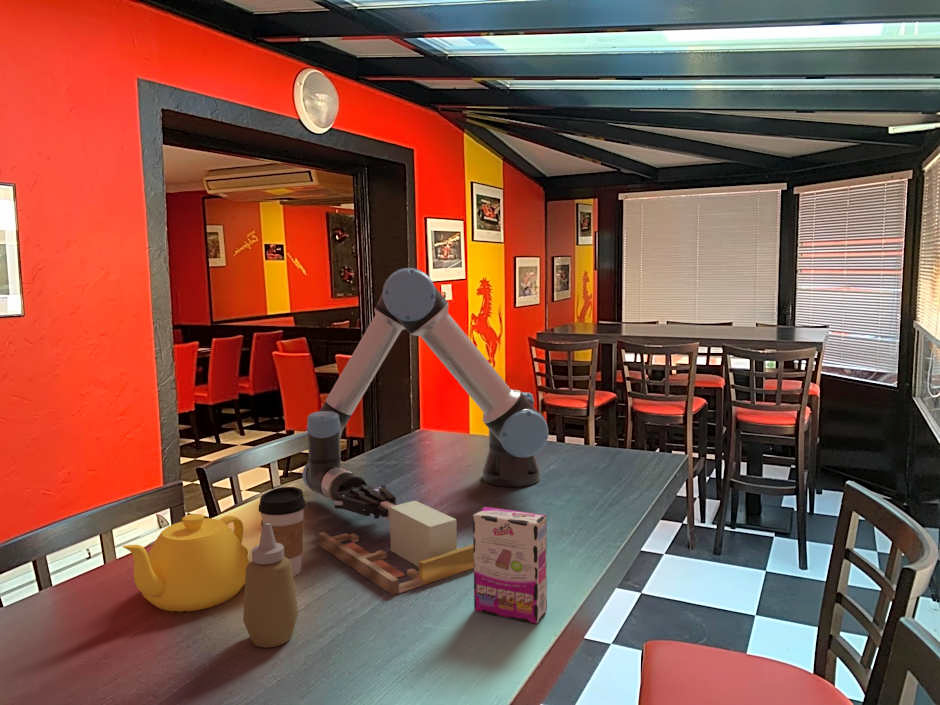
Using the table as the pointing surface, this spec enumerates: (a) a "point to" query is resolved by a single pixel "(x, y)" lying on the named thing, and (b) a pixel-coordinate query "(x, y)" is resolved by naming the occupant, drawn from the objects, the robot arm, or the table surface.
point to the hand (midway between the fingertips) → (400, 516)
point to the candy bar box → (510, 564)
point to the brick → (421, 532)
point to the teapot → (192, 564)
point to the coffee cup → (285, 521)
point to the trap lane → (388, 575)
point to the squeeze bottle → (269, 593)
